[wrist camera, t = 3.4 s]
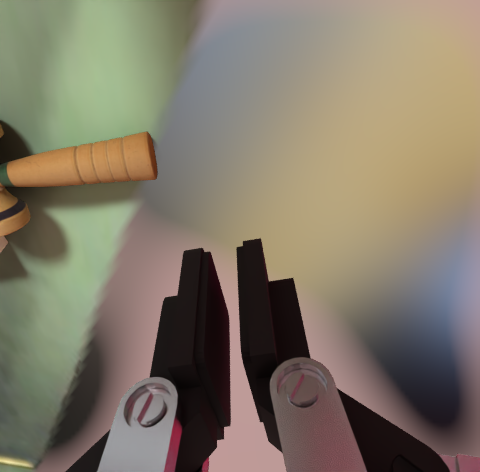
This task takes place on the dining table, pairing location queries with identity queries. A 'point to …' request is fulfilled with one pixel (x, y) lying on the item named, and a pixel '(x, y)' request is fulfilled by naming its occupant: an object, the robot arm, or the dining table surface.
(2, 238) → the lane
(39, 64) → the dining table surface
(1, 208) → the kendama
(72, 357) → the dining table surface
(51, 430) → the dining table surface
